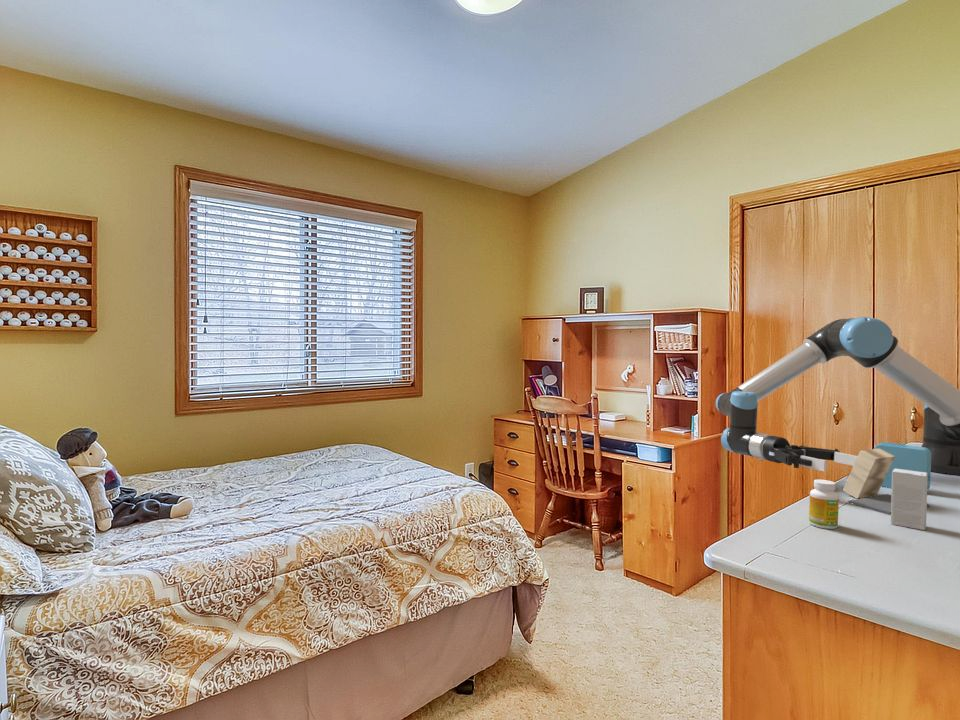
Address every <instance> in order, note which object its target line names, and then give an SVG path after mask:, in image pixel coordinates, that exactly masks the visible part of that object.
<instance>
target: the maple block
mask: <svg viewBox="0 0 960 720" xmlns="http://www.w3.org/2000/svg"><path fill="white" fill-rule="evenodd" d="M857 456H858V457H857V459H856V461H855V463H854V466H852V468H851V470H850V472H849V475H848V477H847V480H846V481H845V484H844V486H843V489H842V491H843V492H845V493H846V494H848V495H851V496H852V497H854V498H855V499H857V498H860V499H861V498H864V497H866V498H867V497H870V496H872V497H873V496H878V493H879V491H880V489H881V488H882V487H881V485H882V483H883V481H884V479H885V477H886V475H887V473H888V471H889V469H890V466H891V464H892V462H893V460H894V458H895V456H893V455H892V454H890V453H888V452H886V451H884V450H882V449H880V448H879V449H874V448H872V449H871V448H870V449H863V450H859V452H858V455H857Z"/></svg>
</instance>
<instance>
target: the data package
mask: <svg viewBox="0 0 960 720" xmlns="http://www.w3.org/2000/svg"><path fill="white" fill-rule="evenodd" d="M879 448H880V449H882V450H884V451H886V452H888V453H890V454H892V455H893V456H895V458H894V460H893V462H892V464H891V466H890V469H889V471H888V473H887V475H886V477H885V479H884V481H883V483H882V485H881V486H882V487H881V488H886V487H887V488H886V489H892V471H893V470H894V469H903V470H911V471H918V472H926V473H928V476H927V491H928V490H929V489H930V488H931V472H932V471H931V451H930V450H929V449H928V448H925V447H921V446H918V445H917V446H915V445H910V444H909V445H908V444H901V443H893V442H880V443H878V444H876V445H875V446H874V448H873V449H879Z"/></svg>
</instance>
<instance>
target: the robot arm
mask: <svg viewBox="0 0 960 720" xmlns="http://www.w3.org/2000/svg"><path fill="white" fill-rule="evenodd" d="M802 341H803V342H802V344H801V345H800V346H798V347H796V348H795V349H794V350H792V351H791V352H789V353H788V354H785V355H784V356H783V357H782V358H780V359H778V360H777V361H775V362H774V363H772V364H771V365H769V366H768V367H766V368H765V369H763V370H761V371H760V372H759V373H757V374H755V375H754V376H752V377H751V378H749V379H748V380H746V381H744V382H743V383H742V384H740V385H739V386H737V387H735V388H734V389H732V390H731V391H729V392H723V393H721V394H719V395H718V396H717V397H716V399H715V408H716V409H717V411H719V412H720V414H722V415H724V416H726V417H729V427H727V428H725V429H724V430H723V431H722V435H720V442H721V446H722V448H724V450H726V451H729V452H733V453H734V454H738V455H743V456H748V457H753V458H757V459H759V461H761V462H762V461H768V462H772V463H777V464H785V465H787V466H792V465H793V468H794V469H799V468H800V466H801V467H804V468H809V469H812V470H816V471H821V472H827V462H828V461H833V462H834V463H838V464H843V465H847V466H852V467H853V466H854V463H855V461H856V459H857V457H858V455H855V454H854V455H853V454H849V453H845V452H840V450H839V449H838V448H834V449H830V448H829V449H827V448H819V447H812V446H806V445H797V444H791V445H790V443H789V441H788V440H787V438H786V437H780V436H776V435H771V434H767V433H762V432H757V425H758V406H759V402H760V401H761V400H763V399H764V398H766V397H767V396H769V395H771V394H773V393H774V392H775V391H777V390H779V389H780V388H781V387H783V386H785V385H787V384H788V383H789V382H791V381H792V380H793V381H794V379H796V378H798V377H799V376H801V375H802V374H804V373H806V372H807V371H808V370H811V369H812V368H813V367H815V366H816V365H818V364H825V363H827V362H829V361H830V360H833V359H835V358H838V357H842V356H843V357H849V358H851V359H852V360H854V361H855V362H857V363H858V364H859V365H861V366H862V367H863V368H865V369H872V368H873V369H875V370H876V371H878V372H880V373H881V374H883V375H884V376H885V377H886V378H888V379H889V380H890V381H892V382H893V383H895V384H896V385H898V386H899V387H901V388H902V389H904V390H905V391H906V392H907V393H908V394H909V395H912V396H913V397H914V398H915V399H917V400H918V401H919V402H922V403H923V404H924V407H923V430H922V431H923V433H922V434H923V435H922V443H921V446H920V447H925V448H928V449H929V450H930V451H931V472H933V473H938V474H939V473H940V474H945V473H947V474H946V475H953V474H955V476H960V389H959V388H957V387H956V386H955V385H953V384H951V383H950V382H949V381H947V380H946V379H944V378H943V377H942V376H941V375H939V374H938V373H936V372H935V371H934V370H932V369H931V368H929V366H926V365H925V364H924V363H922V362H921V361H919V360H918V359H917V358H915V357H914V356H913V355H911V354H909V352H907V351H905V350H904V349H903V348H901V347H900V345H899V339H898V338H897V336H894V335H893V331H892V329H891V328H890V326H889V325H888V324H887V323H886V322H884V321H883V320H881V319H878V318H874V317H869V316H859V317H858V316H857V317H854V318H853V317H851V318H840V319H835V320H833V321H830V322H828V323H827V324H826V325H824V326H823V327H821V328H819V329H818V330H817V331H815V332H814V333H812V334H811V335H809V336H807V337H806V338H805V339H803V340H802Z"/></svg>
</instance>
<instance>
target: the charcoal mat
mask: <svg viewBox="0 0 960 720" xmlns="http://www.w3.org/2000/svg"><path fill="white" fill-rule="evenodd" d="M891 496H892V494H889V493H885V494H880V495H877V496H872V497H866V498H860V499H857V498H855V499H851V500H848V501H847V503H848V502H849V503H848V504H850V503H853V504H855V506H857V505H858V506H857V507H861V508H864V507H865V508H864V509H868V510H871V509H872V511H876V512H879V513H883V514H885V515H890V516H891ZM853 504H852V505H853ZM927 508H930V504H929V503H927Z"/></svg>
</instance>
